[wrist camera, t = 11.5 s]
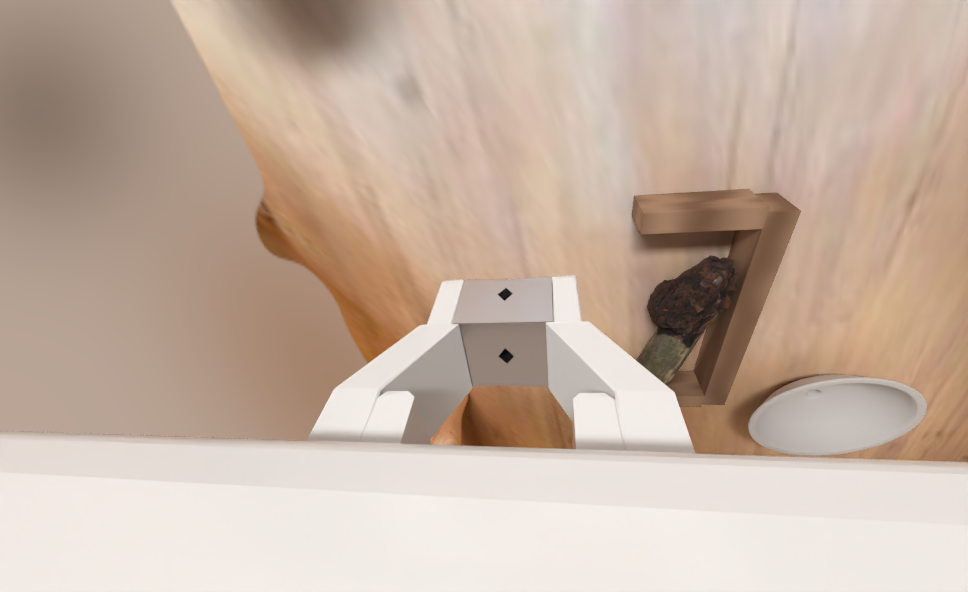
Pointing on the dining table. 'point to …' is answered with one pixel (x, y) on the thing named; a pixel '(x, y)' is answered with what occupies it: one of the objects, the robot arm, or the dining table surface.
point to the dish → (835, 415)
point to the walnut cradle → (756, 259)
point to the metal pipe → (686, 313)
